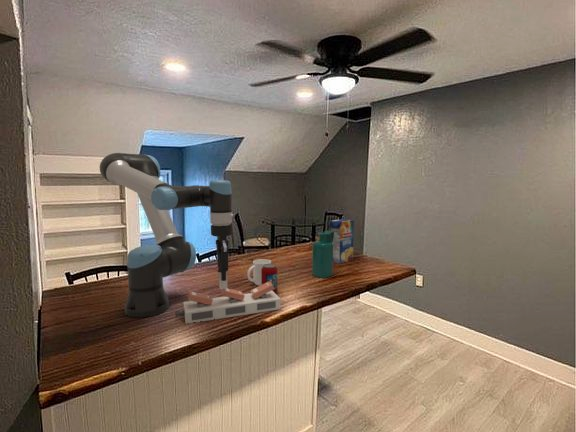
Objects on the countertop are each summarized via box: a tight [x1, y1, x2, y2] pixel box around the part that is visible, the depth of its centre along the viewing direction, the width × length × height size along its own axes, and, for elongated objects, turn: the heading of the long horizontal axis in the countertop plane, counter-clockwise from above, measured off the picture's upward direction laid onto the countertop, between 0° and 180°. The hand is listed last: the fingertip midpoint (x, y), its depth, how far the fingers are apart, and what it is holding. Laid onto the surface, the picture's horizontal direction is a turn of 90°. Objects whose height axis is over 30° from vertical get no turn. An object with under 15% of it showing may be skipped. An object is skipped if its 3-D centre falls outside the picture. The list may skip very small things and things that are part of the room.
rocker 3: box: [250, 282, 274, 299], centre depth 123 cm, size 8×5×2 cm, turn 111°
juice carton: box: [329, 218, 355, 265], centre depth 189 cm, size 12×8×24 cm, turn 130°
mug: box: [246, 258, 272, 286], centre depth 150 cm, size 12×8×10 cm
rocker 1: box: [187, 290, 213, 305], centre depth 115 cm, size 8×5×2 cm, turn 111°
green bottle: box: [311, 230, 334, 279], centre depth 162 cm, size 10×8×22 cm
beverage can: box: [261, 263, 278, 294], centre depth 138 cm, size 7×7×12 cm
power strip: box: [174, 291, 282, 325], centre depth 119 cm, size 37×10×5 cm, turn 111°
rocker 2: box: [219, 287, 245, 300], centre depth 119 cm, size 8×5×2 cm, turn 111°
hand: (223, 288), depth 118 cm, fingers closed
